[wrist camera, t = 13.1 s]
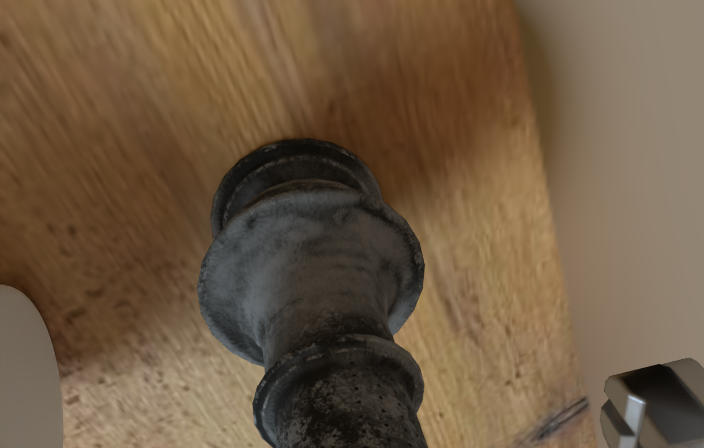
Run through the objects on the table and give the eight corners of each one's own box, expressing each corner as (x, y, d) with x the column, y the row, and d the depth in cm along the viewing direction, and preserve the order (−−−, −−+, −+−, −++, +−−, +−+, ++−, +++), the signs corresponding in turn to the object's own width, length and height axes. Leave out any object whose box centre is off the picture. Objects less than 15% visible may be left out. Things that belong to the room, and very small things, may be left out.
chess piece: (383, 111, 17) (618, 481, 7) (398, 273, 20) (574, 684, 10) (176, 150, 17) (116, 611, 7) (225, 310, 20) (236, 782, 10)
